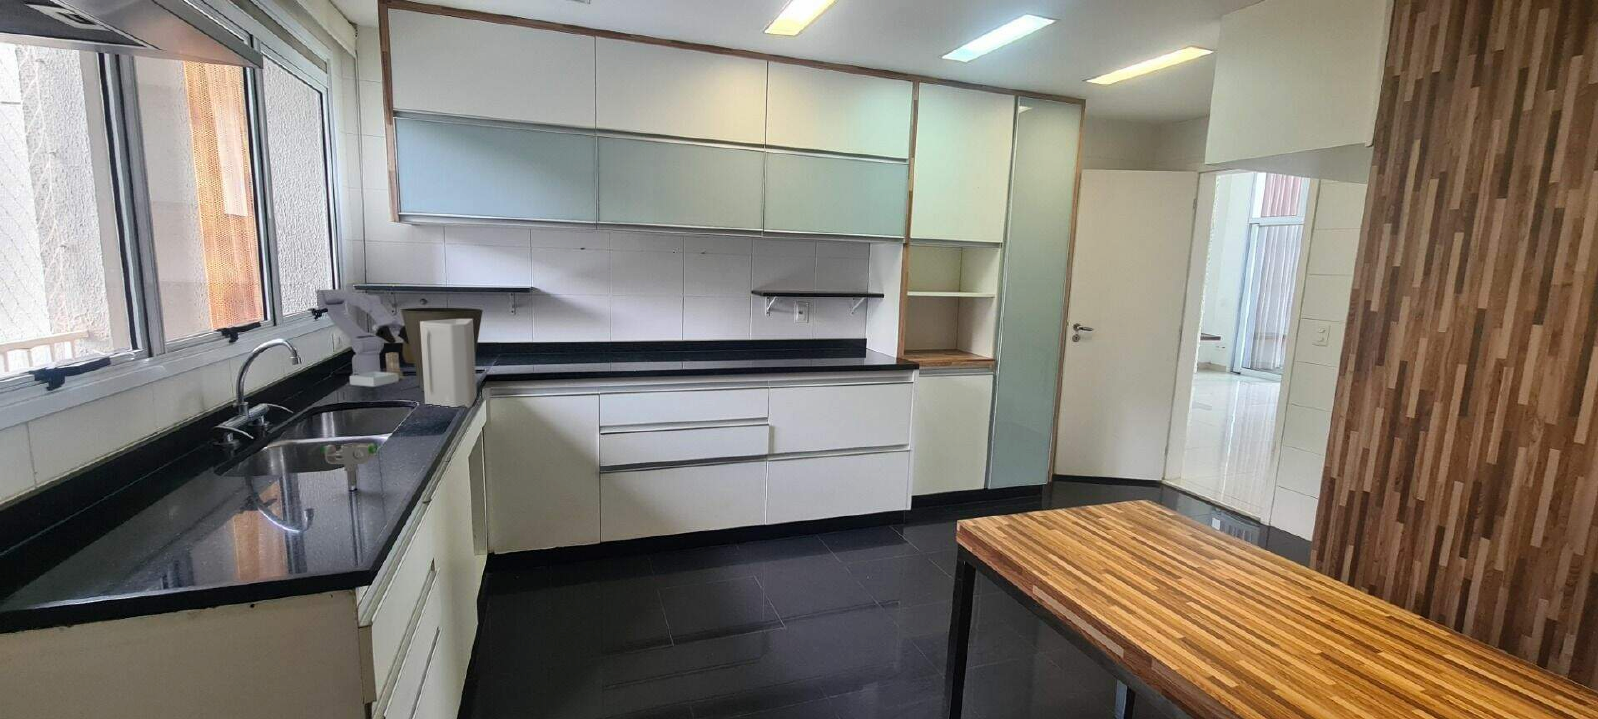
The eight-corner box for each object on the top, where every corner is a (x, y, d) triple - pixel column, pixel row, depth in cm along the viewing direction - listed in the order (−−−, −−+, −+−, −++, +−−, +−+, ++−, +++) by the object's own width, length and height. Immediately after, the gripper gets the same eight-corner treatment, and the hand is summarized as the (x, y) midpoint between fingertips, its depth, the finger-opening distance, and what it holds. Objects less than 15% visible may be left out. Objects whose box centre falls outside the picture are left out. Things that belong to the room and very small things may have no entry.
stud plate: (376, 380, 256) (376, 373, 256) (394, 377, 264) (393, 370, 264) (393, 382, 254) (393, 375, 254) (410, 378, 262) (409, 371, 262)
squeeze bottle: (427, 362, 301) (425, 323, 298) (412, 364, 294) (409, 325, 291) (414, 361, 304) (411, 322, 301) (398, 363, 296) (396, 324, 293)
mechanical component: (332, 487, 142) (328, 443, 141) (381, 487, 143) (378, 443, 142) (323, 492, 139) (319, 447, 138) (374, 491, 140) (370, 447, 139)
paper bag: (430, 397, 230) (425, 319, 226) (477, 395, 235) (473, 318, 231) (420, 410, 212) (414, 324, 208) (470, 407, 217) (466, 324, 213)
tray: (350, 386, 245) (349, 376, 244) (375, 381, 255) (375, 371, 255) (374, 388, 242) (373, 378, 241) (398, 383, 253) (398, 373, 252)
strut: (384, 378, 258) (382, 353, 256) (393, 376, 262) (392, 352, 260) (393, 379, 256) (391, 354, 255) (402, 377, 261) (401, 352, 259)
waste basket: (488, 382, 260) (485, 307, 255) (484, 392, 241) (480, 311, 237) (411, 385, 250) (406, 307, 246) (400, 396, 232) (394, 311, 227)
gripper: (372, 310, 253) (391, 335, 250) (404, 312, 267) (423, 336, 264) (362, 323, 254) (381, 348, 252) (394, 324, 268) (413, 348, 266)
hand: (402, 343), depth 258 cm, fingers open, 7 cm apart
